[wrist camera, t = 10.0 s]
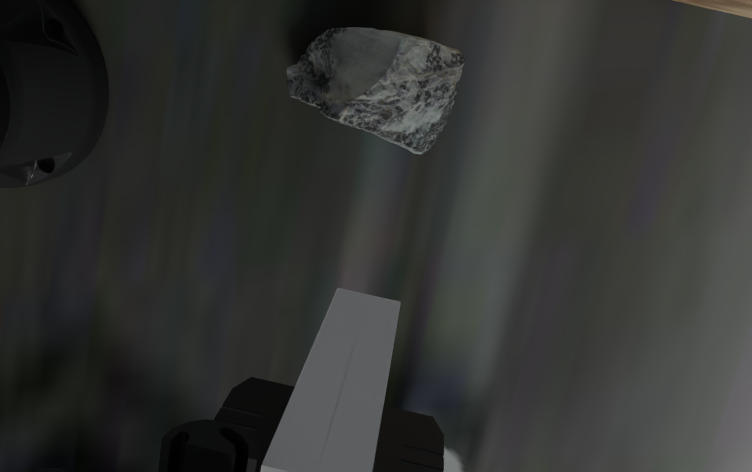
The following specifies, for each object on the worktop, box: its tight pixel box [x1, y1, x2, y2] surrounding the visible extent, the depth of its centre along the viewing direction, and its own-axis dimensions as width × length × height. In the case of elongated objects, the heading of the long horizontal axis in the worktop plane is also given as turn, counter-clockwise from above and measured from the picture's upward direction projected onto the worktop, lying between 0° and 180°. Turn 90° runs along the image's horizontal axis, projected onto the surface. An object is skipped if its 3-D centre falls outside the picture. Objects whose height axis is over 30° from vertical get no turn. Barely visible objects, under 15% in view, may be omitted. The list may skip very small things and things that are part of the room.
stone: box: [287, 27, 465, 154], centre depth 42 cm, size 10×10×10 cm
